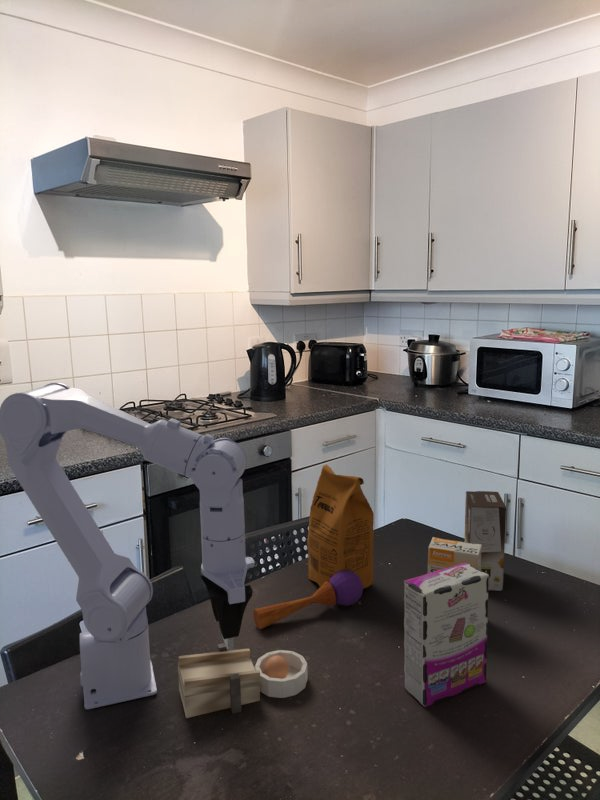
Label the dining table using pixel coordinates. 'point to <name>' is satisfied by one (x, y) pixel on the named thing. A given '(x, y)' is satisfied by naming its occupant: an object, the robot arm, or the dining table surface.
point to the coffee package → (340, 529)
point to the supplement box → (452, 554)
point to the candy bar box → (445, 632)
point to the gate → (229, 643)
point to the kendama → (315, 598)
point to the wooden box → (217, 681)
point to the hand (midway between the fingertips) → (226, 627)
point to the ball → (277, 667)
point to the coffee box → (487, 532)
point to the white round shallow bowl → (292, 681)
